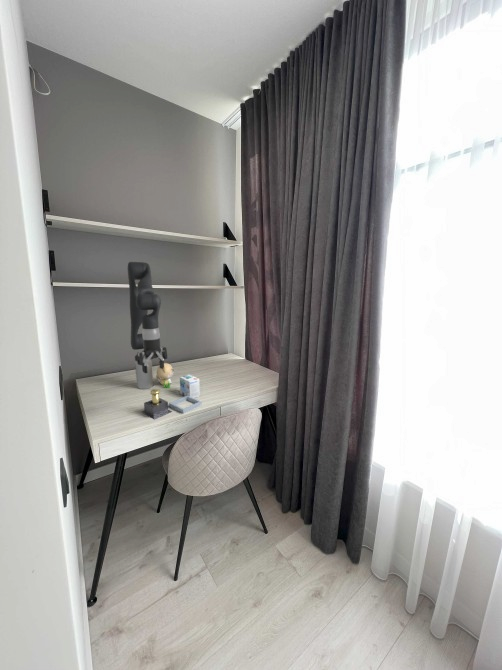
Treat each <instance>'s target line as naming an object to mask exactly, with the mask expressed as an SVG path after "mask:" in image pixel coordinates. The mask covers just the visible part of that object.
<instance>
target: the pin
mask: <svg viewBox="0 0 502 670" xmlns="http://www.w3.org/2000/svg"><path fill="white" fill-rule="evenodd" d="M160 393H161V392H160V389H159V388H155V389H151V390H150V395H151V400H152V403H153V405H156V404H159V398H160Z"/></svg>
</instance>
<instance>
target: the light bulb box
mask: <svg viewBox="0 0 502 670" xmlns="http://www.w3.org/2000/svg"><path fill="white" fill-rule="evenodd" d="M200 386H201V385H200V378H198V377H196V376H194V375H192V374H186V375H183V376H179V387H180V388H179V389H180V395H181V396H183V397H185V396H190V397H192V398H194V399H198V398H199V397H201V393H200V391H201V390H200V389H201V388H200Z"/></svg>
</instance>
